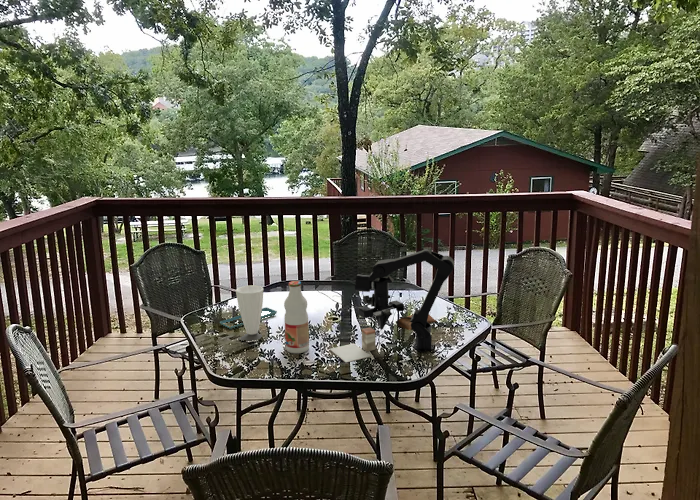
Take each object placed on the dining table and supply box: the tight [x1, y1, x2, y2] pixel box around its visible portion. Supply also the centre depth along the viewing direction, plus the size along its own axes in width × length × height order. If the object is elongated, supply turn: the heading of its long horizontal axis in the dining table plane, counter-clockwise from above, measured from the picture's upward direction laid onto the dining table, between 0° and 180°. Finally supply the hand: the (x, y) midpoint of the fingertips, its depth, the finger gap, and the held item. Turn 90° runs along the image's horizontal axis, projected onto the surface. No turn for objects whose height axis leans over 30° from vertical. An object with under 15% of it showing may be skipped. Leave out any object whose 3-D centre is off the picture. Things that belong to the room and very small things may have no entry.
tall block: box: [361, 327, 376, 352], centre depth 209 cm, size 4×4×8 cm
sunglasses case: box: [396, 314, 438, 331], centre depth 236 cm, size 18×7×7 cm, turn 127°
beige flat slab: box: [329, 343, 372, 364], centre depth 206 cm, size 14×11×1 cm
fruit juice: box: [283, 280, 310, 354], centre depth 207 cm, size 9×9×28 cm
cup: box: [235, 284, 264, 342], centre depth 220 cm, size 12×12×22 cm
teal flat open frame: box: [219, 306, 278, 330], centre depth 243 cm, size 26×9×2 cm, turn 134°
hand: (381, 329), depth 211 cm, fingers closed
